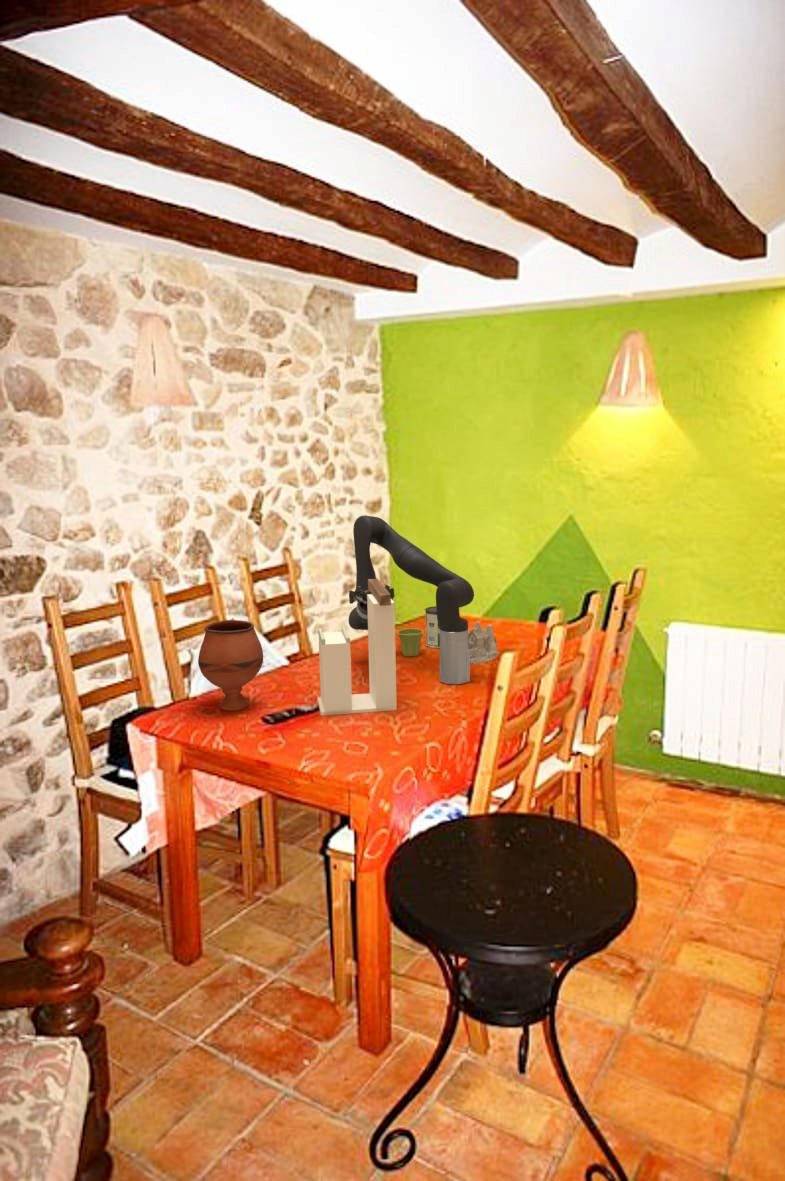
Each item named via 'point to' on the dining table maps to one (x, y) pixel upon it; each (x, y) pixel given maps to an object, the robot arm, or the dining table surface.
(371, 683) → the stand
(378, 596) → the walnut baton
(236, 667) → the goblet
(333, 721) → the dining table surface
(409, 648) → the plant pot
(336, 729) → the dining table surface
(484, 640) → the ceramic cottage
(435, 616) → the coffee can
